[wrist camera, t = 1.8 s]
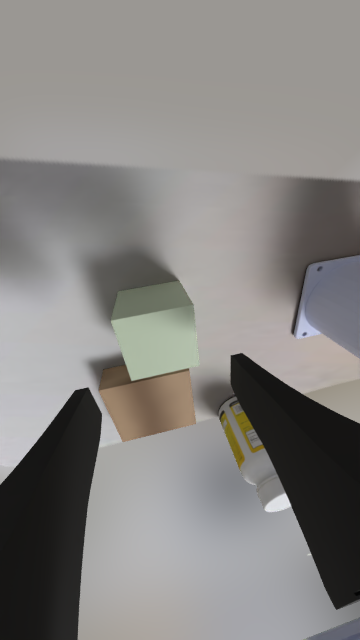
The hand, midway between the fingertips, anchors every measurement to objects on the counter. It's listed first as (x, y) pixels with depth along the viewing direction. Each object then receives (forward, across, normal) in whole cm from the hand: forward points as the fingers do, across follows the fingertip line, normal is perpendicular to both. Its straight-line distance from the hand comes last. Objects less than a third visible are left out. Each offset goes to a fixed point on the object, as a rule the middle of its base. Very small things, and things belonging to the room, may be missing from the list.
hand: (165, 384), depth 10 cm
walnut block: (+9, +2, +9) cm, 13 cm away
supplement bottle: (+8, -8, +16) cm, 20 cm away
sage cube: (+8, 0, 0) cm, 8 cm away
